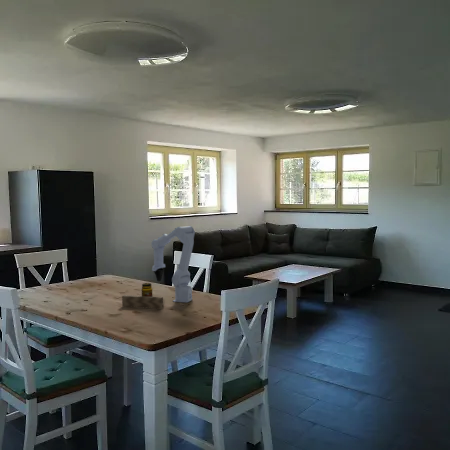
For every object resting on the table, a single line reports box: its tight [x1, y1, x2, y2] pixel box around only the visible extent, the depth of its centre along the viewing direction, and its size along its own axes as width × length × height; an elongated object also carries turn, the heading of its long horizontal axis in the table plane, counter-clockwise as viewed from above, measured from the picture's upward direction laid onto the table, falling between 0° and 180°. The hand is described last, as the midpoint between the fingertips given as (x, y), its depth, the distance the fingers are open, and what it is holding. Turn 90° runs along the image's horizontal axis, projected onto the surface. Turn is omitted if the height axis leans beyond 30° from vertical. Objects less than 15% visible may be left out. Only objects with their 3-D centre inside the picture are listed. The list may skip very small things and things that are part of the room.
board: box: [121, 294, 164, 310], centre depth 245 cm, size 24×2×6 cm, turn 73°
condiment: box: [141, 282, 153, 297], centre depth 251 cm, size 7×8×12 cm
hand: (159, 280), depth 272 cm, fingers closed
